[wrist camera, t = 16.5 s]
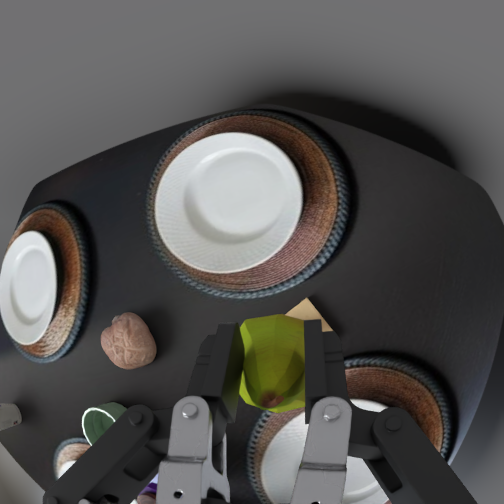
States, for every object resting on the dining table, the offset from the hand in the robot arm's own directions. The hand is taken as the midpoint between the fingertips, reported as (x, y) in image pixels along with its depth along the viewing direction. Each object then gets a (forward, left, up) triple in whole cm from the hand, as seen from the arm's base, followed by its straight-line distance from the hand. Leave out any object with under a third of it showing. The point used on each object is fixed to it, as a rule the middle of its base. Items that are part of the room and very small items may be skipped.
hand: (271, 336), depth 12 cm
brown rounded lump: (+10, +19, -23) cm, 31 cm away
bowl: (+1, +30, -23) cm, 38 cm away
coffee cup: (+14, +61, -23) cm, 67 cm away
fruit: (-2, +1, -8) cm, 9 cm away
